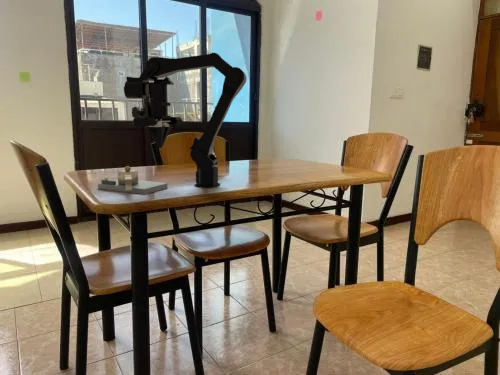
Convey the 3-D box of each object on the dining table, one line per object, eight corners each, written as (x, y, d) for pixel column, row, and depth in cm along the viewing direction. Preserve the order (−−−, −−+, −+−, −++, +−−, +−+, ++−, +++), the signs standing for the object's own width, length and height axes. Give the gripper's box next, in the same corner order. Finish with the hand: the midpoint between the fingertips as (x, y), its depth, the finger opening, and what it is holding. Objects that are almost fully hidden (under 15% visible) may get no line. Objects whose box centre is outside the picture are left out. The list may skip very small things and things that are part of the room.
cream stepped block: (139, 189, 108) (139, 171, 107) (117, 190, 106) (116, 172, 105) (137, 180, 124) (137, 164, 123) (118, 180, 122) (117, 164, 121)
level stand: (167, 187, 121) (167, 175, 120) (144, 194, 111) (144, 180, 110) (123, 183, 128) (122, 171, 127) (98, 188, 118) (97, 176, 117)
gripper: (156, 100, 134) (157, 145, 136) (117, 97, 117) (120, 148, 120) (183, 100, 129) (183, 146, 132) (147, 97, 112) (148, 150, 115)
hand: (159, 148), depth 125 cm, fingers closed
